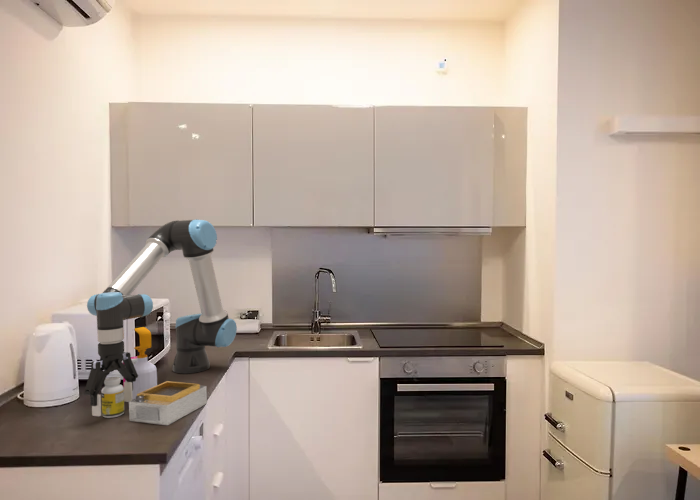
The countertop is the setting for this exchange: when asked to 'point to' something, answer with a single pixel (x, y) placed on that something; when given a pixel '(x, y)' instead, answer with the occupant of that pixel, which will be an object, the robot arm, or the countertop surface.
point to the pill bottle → (112, 398)
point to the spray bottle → (144, 364)
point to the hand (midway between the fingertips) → (113, 408)
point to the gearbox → (167, 402)
